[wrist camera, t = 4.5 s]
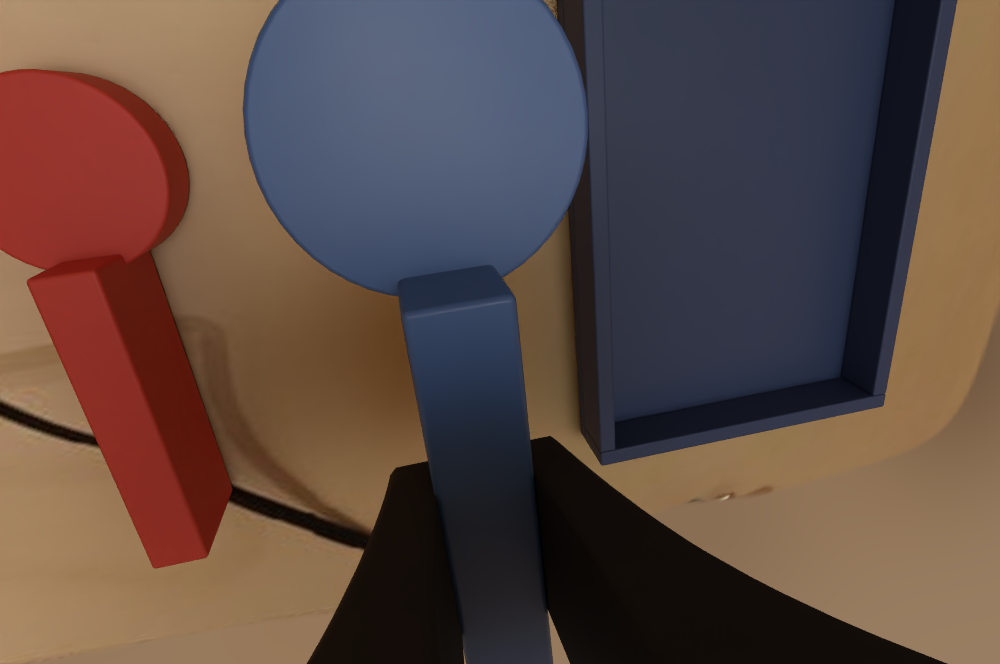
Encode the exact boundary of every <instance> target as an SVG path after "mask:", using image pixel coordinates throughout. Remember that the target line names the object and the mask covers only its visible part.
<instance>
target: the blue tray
mask: <svg viewBox="0 0 1000 664" xmlns="http://www.w3.org/2000/svg"><path fill="white" fill-rule="evenodd" d="M557 3H558V21H559V24H560V25H561V27H562V28H563V30H564V32H565V34H566V36H567V38H568V40H569V42H570V44H571V46H572V48H573V51H574V54H575V57H576V60H577V62H578V65H579V68H580V71H581V75H582V80H583V84H584V88H585V93H586V102H587V111H588V140H587V147H586V155H585V162H584V165H583V169H582V173H581V177H580V181H579V184H578V186H577V189H576V192H575V194H574V197H573V199H572V202H571V204H570V205H569V221H570V239H571V257H572V275H573V294H574V312H575V330H576V348H577V366H578V384H579V402H580V421H581V433H582V435H583V436H584V438H585V439H586V441H587V443H588V444H589V446H590V448H591V449H592V451H593V453H594V454H595V456H596V457H597V459H598V461H599V462H600V464H601V465H608V464H612V463H617V462H622V461H627V460H631V459H636V458H641V457H646V456H650V455H655V454H660V453H664V452H669V451H674V450H679V449H683V448H688V447H693V446H698V445H702V444H707V443H712V442H716V441H721V440H726V439H731V438H735V437H740V436H745V435H750V434H754V433H759V432H764V431H768V430H773V429H778V428H783V427H787V426H792V425H797V424H802V423H806V422H811V421H816V420H820V419H825V418H830V417H835V416H839V415H844V414H849V413H854V412H858V411H863V410H868V409H872V408H877V407H882V406H883V405H884V400H885V394H884V393H886V389H887V383H888V378H889V372H890V367H891V361H892V356H893V350H894V345H895V339H896V334H897V328H898V323H899V317H900V312H901V306H902V301H903V295H904V290H905V284H906V279H907V273H908V268H909V262H910V257H911V252H912V246H913V241H914V235H915V230H916V224H917V219H918V213H919V208H920V202H921V197H922V191H923V186H924V180H925V175H926V169H927V164H928V158H929V153H930V147H931V142H932V136H933V131H934V125H935V120H936V114H937V109H938V103H939V98H940V92H941V87H942V81H943V76H944V70H945V65H946V59H947V54H948V48H949V43H950V37H951V32H952V26H953V21H954V15H955V10H956V4H957V0H557Z"/></svg>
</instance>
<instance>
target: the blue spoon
mask: <svg viewBox="0 0 1000 664" xmlns="http://www.w3.org/2000/svg"><path fill="white" fill-rule="evenodd" d="M243 118H244V133H245V139H246V144H247V149H248V154H249V159H250V162H251V165H252V168H253V171H254V174H255V177H256V180H257V183H258V185H259V187H260V189H261V191H262V193H263V195H264V197H265V199H266V201H267V203H268V205H269V207H270V208H271V210H272V211H273V213H274V215H275V216H276V218H277V219H278V221H279V222H280V224H281V225H282V226H283V228H284V229H285V230H286V231H287V232H288V234H289V235H290V236H291V237H292V238H293V240H294V241H295V242H296V243H297V244H298V245H299V246H300V247H301V248H302V249H303V250H305V251H306V252H307V253H308V254H309V255H310V256H311V257H312V258H313V259H315V260H316V261H317V262H319V263H320V264H321V265H323V266H324V267H326V268H327V269H328V270H330V271H331V272H333V273H335V274H337V275H338V276H340V277H342V278H344V279H346V280H347V281H349V282H352V283H354V284H356V285H359V286H361V287H364V288H366V289H369V290H372V291H376V292H379V293H383V294H387V295H392V296H399V304H400V313H401V320H402V326H403V331H404V336H405V342H406V347H407V352H408V357H409V363H410V368H411V373H412V379H413V384H414V389H415V395H416V400H417V405H418V411H419V416H420V421H421V426H422V432H423V437H424V442H425V448H426V453H427V458H428V464H429V469H430V474H431V480H432V485H433V490H434V495H436V498H437V503H438V509H439V514H440V519H441V525H442V530H443V535H444V541H445V546H446V551H447V557H448V562H449V567H450V573H451V578H452V583H453V589H454V594H455V599H456V605H457V610H458V615H459V621H460V626H461V632H462V640H463V649H464V654H465V659H466V664H553V656H552V647H551V637H550V627H549V617H548V608H547V598H546V588H545V579H544V569H543V559H542V549H541V540H540V530H539V520H538V510H537V501H536V491H535V481H534V471H533V462H532V452H531V442H530V432H529V423H528V413H527V403H526V393H525V384H524V374H523V364H522V354H521V345H520V335H519V325H518V316H517V306H516V298H515V297H514V295H513V293H512V292H511V290H510V289H509V288H508V286H507V285H506V283H505V282H504V280H503V279H502V277H504V276H506V275H508V274H509V273H511V272H512V271H513V270H515V269H516V268H518V267H519V266H521V265H522V264H523V263H524V262H526V261H527V260H528V259H529V258H530V257H531V256H532V255H534V254H535V253H536V252H537V251H538V250H539V249H540V247H541V246H542V245H543V244H544V243H545V242H546V241H547V240H548V238H549V237H550V236H551V235H552V233H553V232H554V230H555V229H556V228H557V226H558V225H559V223H560V222H561V220H562V219H563V217H564V215H565V213H566V211H567V209H568V207H569V205H570V204H571V202H572V199H573V197H574V194H575V192H576V189H577V186H578V184H579V181H580V177H581V173H582V169H583V165H584V162H585V155H586V147H587V140H588V111H587V102H586V93H585V88H584V84H583V80H582V75H581V71H580V68H579V65H578V62H577V60H576V57H575V54H574V51H573V48H572V46H571V44H570V42H569V40H568V38H567V36H566V34H565V32H564V30H563V28H562V27H561V25H560V24H559V22H558V21H557V19H556V18H555V16H554V15H553V13H552V12H551V10H550V9H549V7H548V6H547V5H546V4H545V2H544V1H543V0H279V1H278V2H277V4H276V5H275V6H274V8H273V9H272V11H271V12H270V14H269V16H268V17H267V19H266V21H265V23H264V25H263V27H262V29H261V31H260V33H259V35H258V37H257V40H256V43H255V45H254V48H253V51H252V54H251V57H250V60H249V65H248V70H247V75H246V80H245V85H244V100H243Z"/></svg>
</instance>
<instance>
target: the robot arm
mask: <svg viewBox="0 0 1000 664" xmlns="http://www.w3.org/2000/svg"><path fill="white" fill-rule="evenodd" d="M530 442H531V452H532V462H533V471H534V481H535V491H536V501H537V510H538V520H539V530H540V540H541V549H542V559H543V569H544V579H545V588H546V598H547V608H548V611H549V613H550V616H551V618H552V620H553V623H554V625H555V628H556V630H557V633H558V635H559V638H560V640H561V643H562V645H563V647H564V650H565V652H566V655H567V657H568V660H569V662H570V664H947V663H944V662H942V661H939V660H936V659H934V658H932V657H929V656H926V655H924V654H921V653H919V652H916V651H914V650H911V649H909V648H906V647H904V646H901V645H899V644H896V643H893V642H891V641H888V640H886V639H883V638H881V637H878V636H876V635H874V634H871V633H869V632H866V631H864V630H862V629H860V628H857V627H855V626H853V625H850V624H848V623H846V622H843V621H841V620H839V619H836V618H834V617H832V616H830V615H828V614H825V613H824V612H821V611H819V610H817V609H815V608H813V607H811V606H809V605H807V604H804V603H802V602H800V601H798V600H796V599H794V598H792V597H790V596H788V595H785V594H783V593H781V592H779V591H777V590H775V589H773V588H771V587H769V586H767V585H766V584H763V583H762V582H760V581H758V580H755V579H753V578H752V577H750V576H748V575H747V574H745V573H743V572H741V571H739V570H737V569H736V568H734V567H732V566H730V565H729V564H727V563H725V562H723V561H721V560H720V559H718V558H716V557H714V556H713V555H711V554H709V553H707V552H706V551H704V550H702V549H701V548H699V547H697V546H696V545H694V544H692V543H691V542H689V541H688V540H686V539H685V538H683V537H682V536H680V535H679V534H677V533H676V532H674V531H672V530H671V529H670V528H668V527H667V526H665V525H664V524H662V523H661V522H659V521H658V520H656V519H655V518H654V517H652V516H651V515H649V514H648V513H647V512H645V511H644V510H642V509H641V508H640V507H638V506H637V505H636V504H634V503H633V502H632V501H630V500H629V499H628V498H626V497H625V496H624V495H622V494H621V493H620V492H618V491H617V490H616V489H614V488H613V487H612V486H610V485H609V484H608V483H607V482H605V481H604V480H603V479H602V478H600V477H599V476H598V475H597V474H596V473H594V472H593V471H592V470H591V469H589V468H588V467H587V466H586V465H585V464H583V463H582V462H581V461H580V460H579V459H578V458H576V457H575V456H574V455H573V454H572V453H571V452H569V451H568V450H567V449H566V448H565V447H564V446H562V445H561V444H560V443H559V442H558V441H557V440H555V439H554V438H552V437H551V436H548V437H543V438H538V439H533V440H530ZM307 664H464V655H463V640H462V632H461V626H460V621H459V615H458V610H457V605H456V599H455V594H454V589H453V583H452V578H451V573H450V567H449V562H448V557H447V551H446V546H445V541H444V535H443V530H442V525H441V519H440V514H439V509H438V503H437V498H436V495H434V490H433V485H432V480H431V474H430V469H429V464H428V461H426V462H422V463H417V464H412V465H407V466H402V467H397V468H395V470H394V471H393V472H392V474H391V475H390V479H389V483H388V487H387V491H386V494H385V497H384V501H383V504H382V507H381V510H380V512H379V515H378V518H377V520H376V523H375V526H374V529H373V531H372V533H371V536H370V538H369V541H368V543H367V545H366V548H365V550H364V553H363V555H362V557H361V560H360V562H359V564H358V567H357V569H356V571H355V573H354V575H353V577H352V579H351V581H350V583H349V585H348V587H347V589H346V592H345V594H344V596H343V598H342V600H341V602H340V604H339V606H338V608H337V610H336V612H335V614H334V616H333V618H332V620H331V622H330V623H329V625H328V627H327V629H326V631H325V633H324V634H323V636H322V638H321V640H320V642H319V643H318V645H317V647H316V649H315V650H314V652H313V654H312V656H311V657H310V659H309V661H308V662H307Z"/></svg>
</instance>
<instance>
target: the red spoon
mask: <svg viewBox="0 0 1000 664" xmlns="http://www.w3.org/2000/svg"><path fill="white" fill-rule="evenodd" d="M188 193H189V179H188V171H187V166H186V162H185V159H184V156H183V153H182V151H181V148H180V146H179V144H178V142H177V140H176V138H175V136H174V135H173V133H172V132H171V130H170V129H169V127H168V126H167V125H166V123H165V122H164V121H163V120H162V119H161V118H160V116H159V115H158V114H157V113H156V112H155V111H154V110H153V109H152V108H151V107H150V106H149V105H147V104H146V103H145V102H144V101H142V100H141V99H140V98H138V97H137V96H136V95H134V94H133V93H131V92H129V91H128V90H126V89H124V88H123V87H120V86H118V85H116V84H114V83H112V82H110V81H107V80H104V79H101V78H98V77H95V76H91V75H86V74H82V73H72V72H61V71H50V70H38V69H20V70H13V71H6V72H2V73H0V250H2V251H4V252H5V253H7V254H9V255H10V256H12V257H14V258H16V259H18V260H20V261H23V262H25V263H27V264H30V265H32V266H35V267H38V268H41V269H45V271H43V272H42V273H40V274H38V275H36V276H34V277H32V278H30V279H28V280H27V285H28V287H29V290H30V292H31V294H32V296H33V299H34V301H35V303H36V305H37V308H38V310H39V312H40V314H41V317H42V319H43V321H44V323H45V326H46V328H47V330H48V332H49V335H50V337H51V339H52V341H53V344H54V346H55V348H56V350H57V353H58V355H59V357H60V359H61V362H62V364H63V366H64V368H65V371H66V373H67V375H68V377H69V380H70V382H71V384H72V386H73V389H74V391H75V393H76V395H77V398H78V400H79V402H80V404H81V407H82V409H83V411H84V413H85V416H86V418H87V420H88V422H89V425H90V427H91V429H92V431H93V434H94V436H95V438H96V440H97V443H98V445H99V447H100V449H101V452H102V454H103V456H104V458H105V461H106V463H107V465H108V467H109V470H110V472H111V474H112V476H113V479H114V481H115V483H116V485H117V488H118V490H119V492H120V494H121V497H122V499H123V501H124V503H125V506H126V508H127V510H128V512H129V515H130V517H131V519H132V521H133V524H134V526H135V528H136V530H137V533H138V535H139V537H140V539H141V542H142V544H143V546H144V548H145V551H146V553H147V555H148V557H149V560H150V562H151V564H152V566H153V568H161V567H165V566H170V565H175V564H179V563H184V562H189V561H193V560H198V559H203V558H206V557H207V556H208V555H209V552H210V549H211V547H212V544H213V541H214V538H215V536H216V533H217V530H218V528H219V525H220V522H221V519H222V517H223V514H224V511H225V509H226V506H227V503H228V500H229V498H230V495H231V492H232V486H231V483H230V480H229V477H228V475H227V472H226V469H225V466H224V463H223V460H222V457H221V455H220V452H219V449H218V446H217V443H216V440H215V437H214V434H213V432H212V429H211V426H210V423H209V420H208V417H207V414H206V411H205V409H204V406H203V403H202V400H201V397H200V394H199V391H198V389H197V386H196V383H195V380H194V377H193V374H192V371H191V368H190V366H189V363H188V360H187V357H186V354H185V351H184V348H183V346H182V343H181V340H180V337H179V334H178V331H177V328H176V325H175V323H174V320H173V317H172V314H171V311H170V308H169V305H168V303H167V300H166V297H165V294H164V291H163V288H162V285H161V282H160V280H159V277H158V274H157V271H156V268H155V265H154V262H153V260H152V257H151V254H150V250H151V249H153V248H154V247H156V246H157V245H159V244H160V243H162V242H163V241H164V240H165V239H166V238H167V237H168V236H169V235H170V234H171V233H172V232H173V231H174V229H175V228H176V227H177V226H178V224H179V222H180V220H181V218H182V216H183V214H184V211H185V208H186V205H187V200H188Z"/></svg>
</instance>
